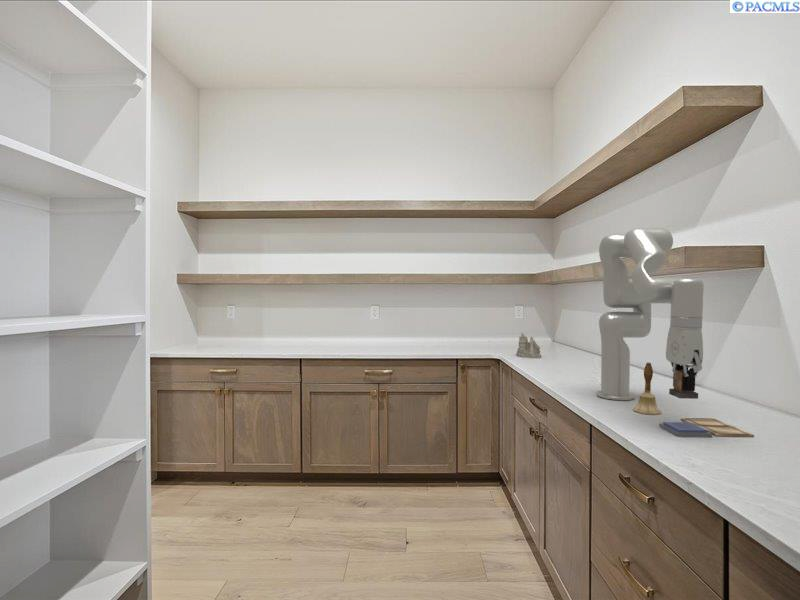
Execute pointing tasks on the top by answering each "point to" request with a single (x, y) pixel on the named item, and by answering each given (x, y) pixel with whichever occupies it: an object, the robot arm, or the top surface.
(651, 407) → the hand bell
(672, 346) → the robot arm
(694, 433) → the ink pad
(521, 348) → the castle ruin model
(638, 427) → the top surface
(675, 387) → the stamp
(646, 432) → the top surface
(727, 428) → the board
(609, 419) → the top surface
